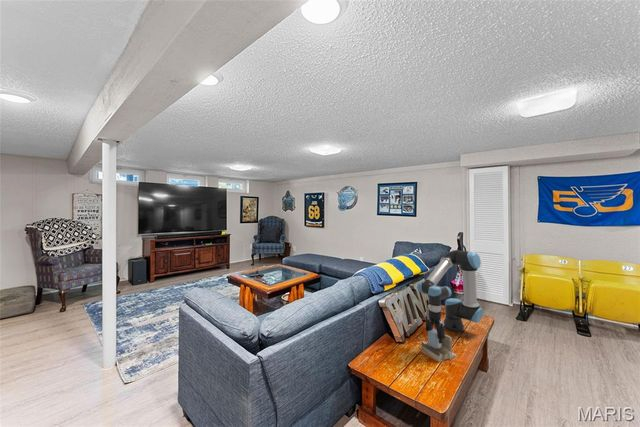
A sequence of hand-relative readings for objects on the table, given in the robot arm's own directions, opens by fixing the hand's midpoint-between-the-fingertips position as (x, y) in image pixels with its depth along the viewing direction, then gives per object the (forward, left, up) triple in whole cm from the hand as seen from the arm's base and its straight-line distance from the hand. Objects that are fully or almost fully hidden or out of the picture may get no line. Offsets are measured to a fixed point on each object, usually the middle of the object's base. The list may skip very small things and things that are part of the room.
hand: (434, 344), depth 170 cm
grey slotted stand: (-3, 0, -7) cm, 7 cm away
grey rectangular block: (0, 0, 0) cm, 0 cm away
